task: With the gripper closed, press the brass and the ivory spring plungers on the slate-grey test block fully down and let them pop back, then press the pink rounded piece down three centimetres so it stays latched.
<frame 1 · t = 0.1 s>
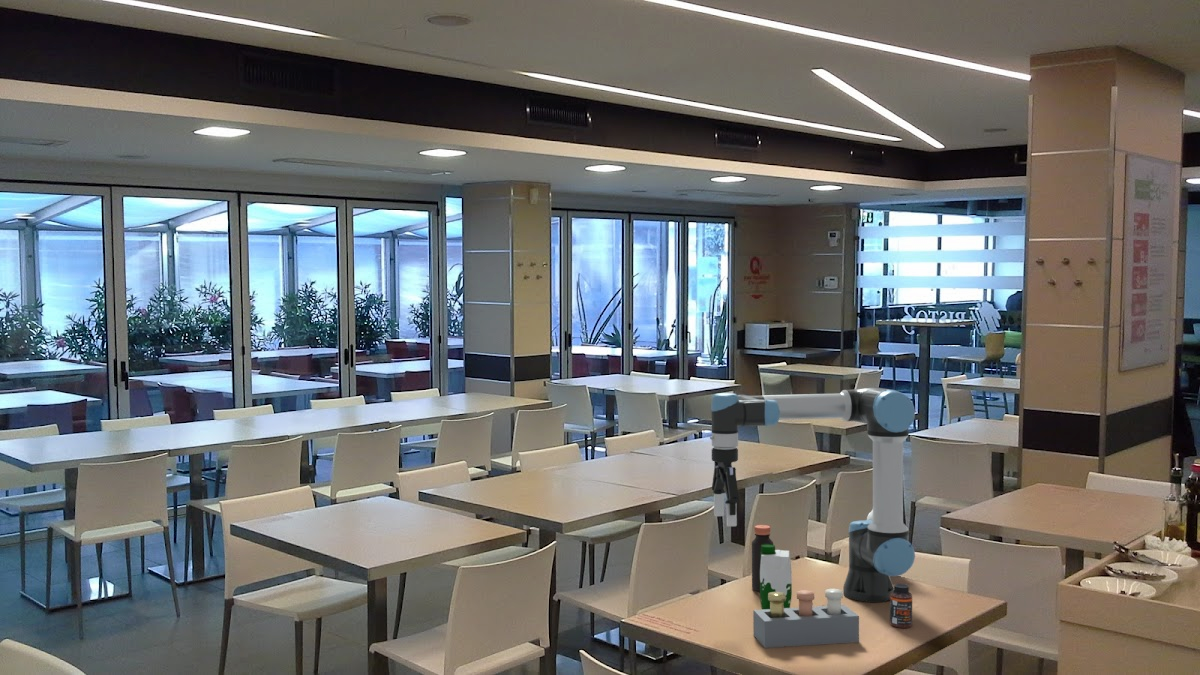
hand: (725, 521, 288), 28 cm above the table, tool pointing down, fingers open, 13 cm apart
alcohol: (880, 572, 337), on the table
milk carton: (775, 614, 292), on the table
brass plunger: (776, 607, 269), point 9 cm above the table, slide at 0.0 cm
ivory plunger: (833, 604, 271), point 9 cm above the table, slide at 0.0 cm
pink rounded piece: (805, 606, 270), point 9 cm above the table, slide at 0.0 cm
test block: (805, 638, 270), on the table
vinegar: (762, 590, 317), on the table
supplement bottle: (901, 626, 281), on the table
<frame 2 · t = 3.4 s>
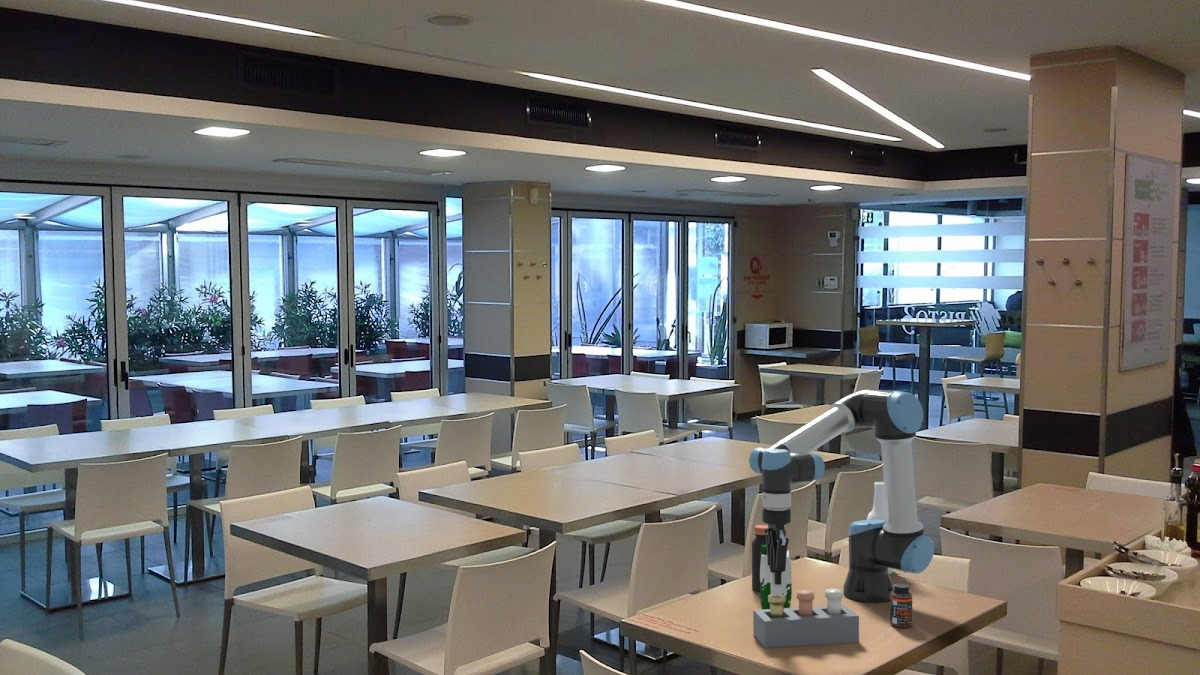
hand: (776, 595, 269), 12 cm above the table, tool pointing down, fingers closed
brass plunger: (776, 609, 269), point 8 cm above the table, slide at 0.5 cm, touching gripper
everything else where it was.
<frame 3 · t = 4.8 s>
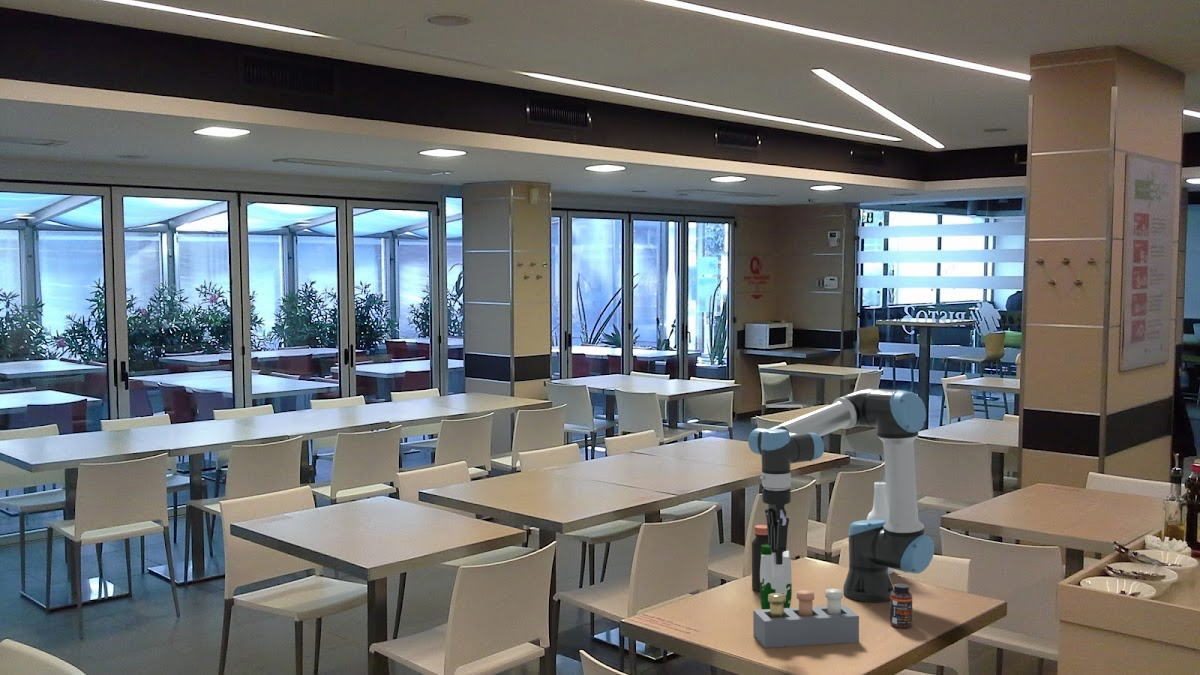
hand: (777, 575, 269), 18 cm above the table, tool pointing down, fingers closed
brass plunger: (776, 609, 269), point 8 cm above the table, slide at 0.4 cm
everything else where it was.
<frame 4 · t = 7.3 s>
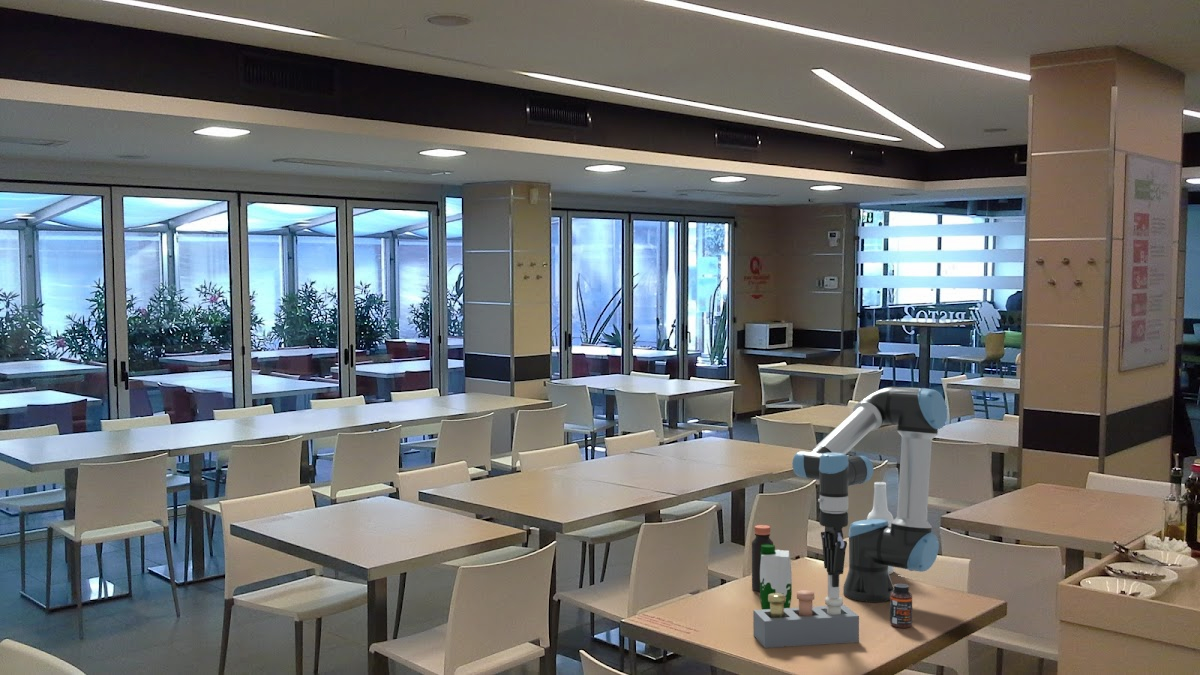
hand: (833, 597, 271), 11 cm above the table, tool pointing down, fingers closed
ivory plunger: (833, 611, 271), point 7 cm above the table, slide at 2.0 cm, touching gripper
everything else where it was.
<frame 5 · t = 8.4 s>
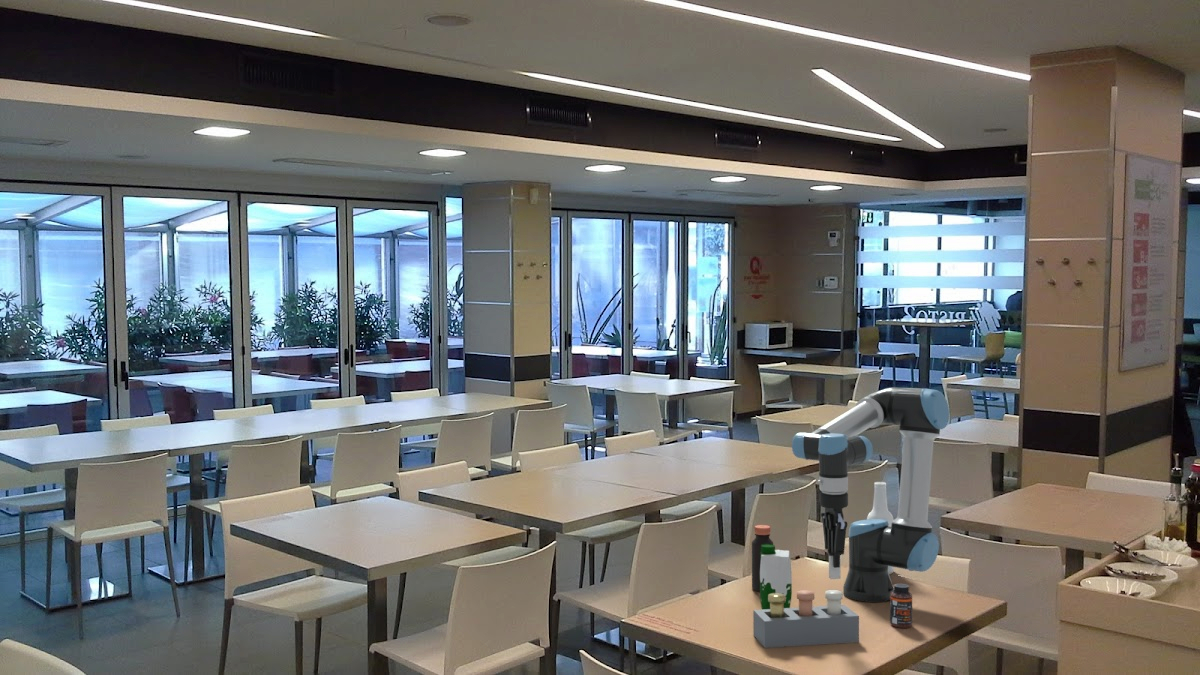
hand: (834, 578, 271), 16 cm above the table, tool pointing down, fingers closed
ivory plunger: (833, 605, 271), point 8 cm above the table, slide at 0.4 cm
everything else where it was.
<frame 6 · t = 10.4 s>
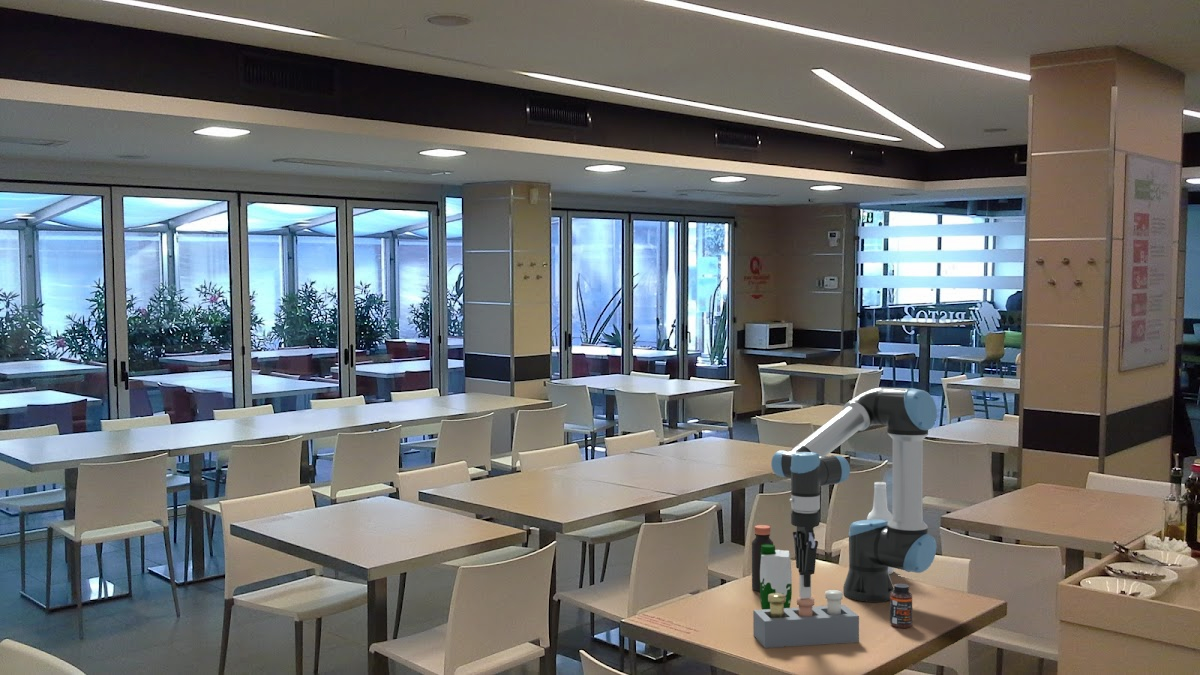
hand: (805, 597, 270), 11 cm above the table, tool pointing down, fingers closed
pink rounded piece: (805, 612, 270), point 7 cm above the table, slide at 1.6 cm, touching gripper
everything else where it was.
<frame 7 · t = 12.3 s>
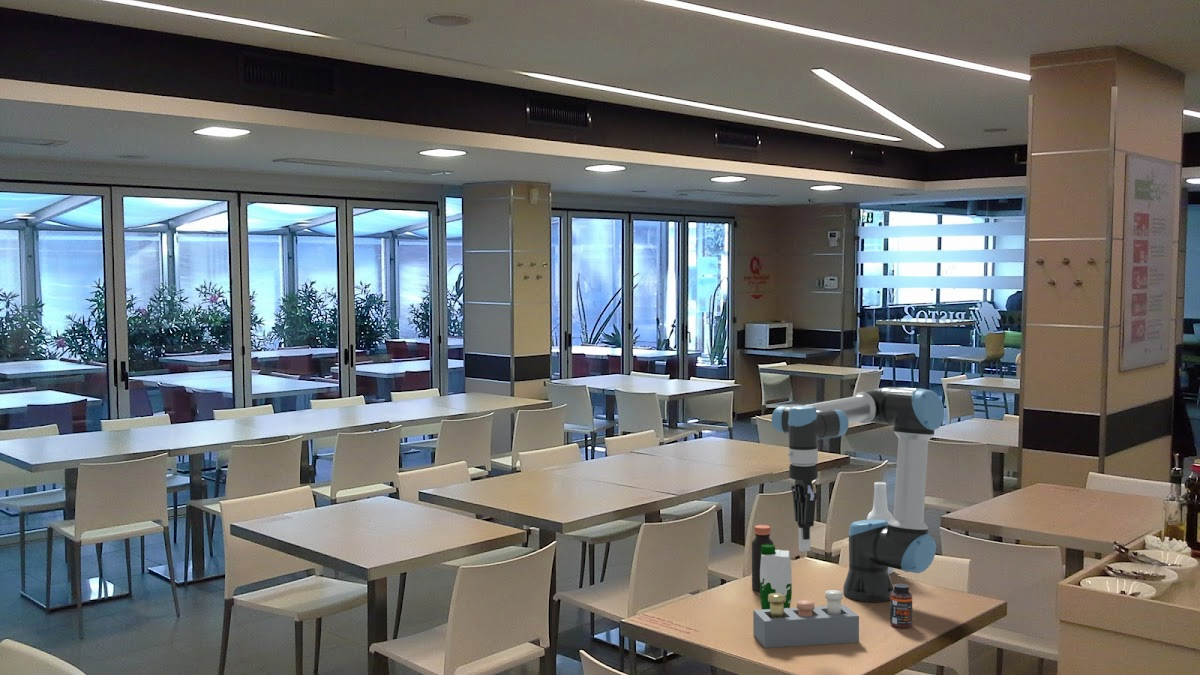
hand: (804, 550, 272), 23 cm above the table, tool pointing down, fingers closed
pink rounded piece: (805, 616, 270), point 6 cm above the table, slide at 2.8 cm
everything else where it was.
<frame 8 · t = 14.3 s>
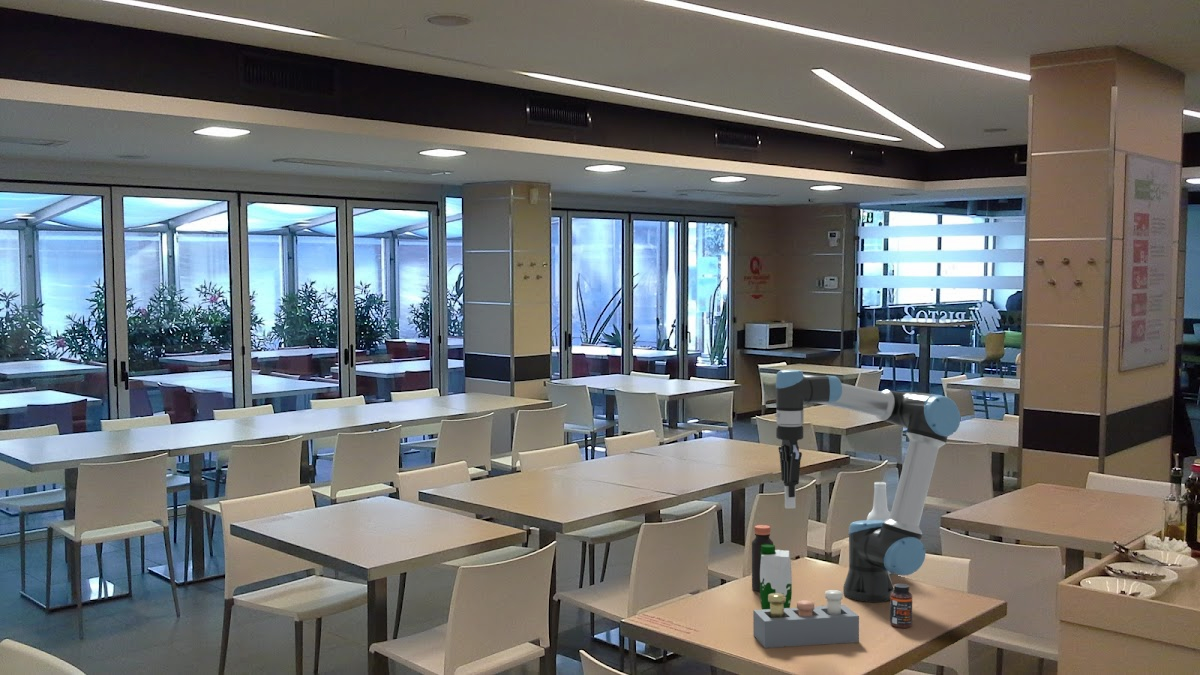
hand: (790, 507, 284), 32 cm above the table, tool pointing down, fingers closed
nothing on the table moved.
at the end: pink rounded piece slide at 2.8 cm; brass plunger slide at 0.4 cm; ivory plunger slide at 0.4 cm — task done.
